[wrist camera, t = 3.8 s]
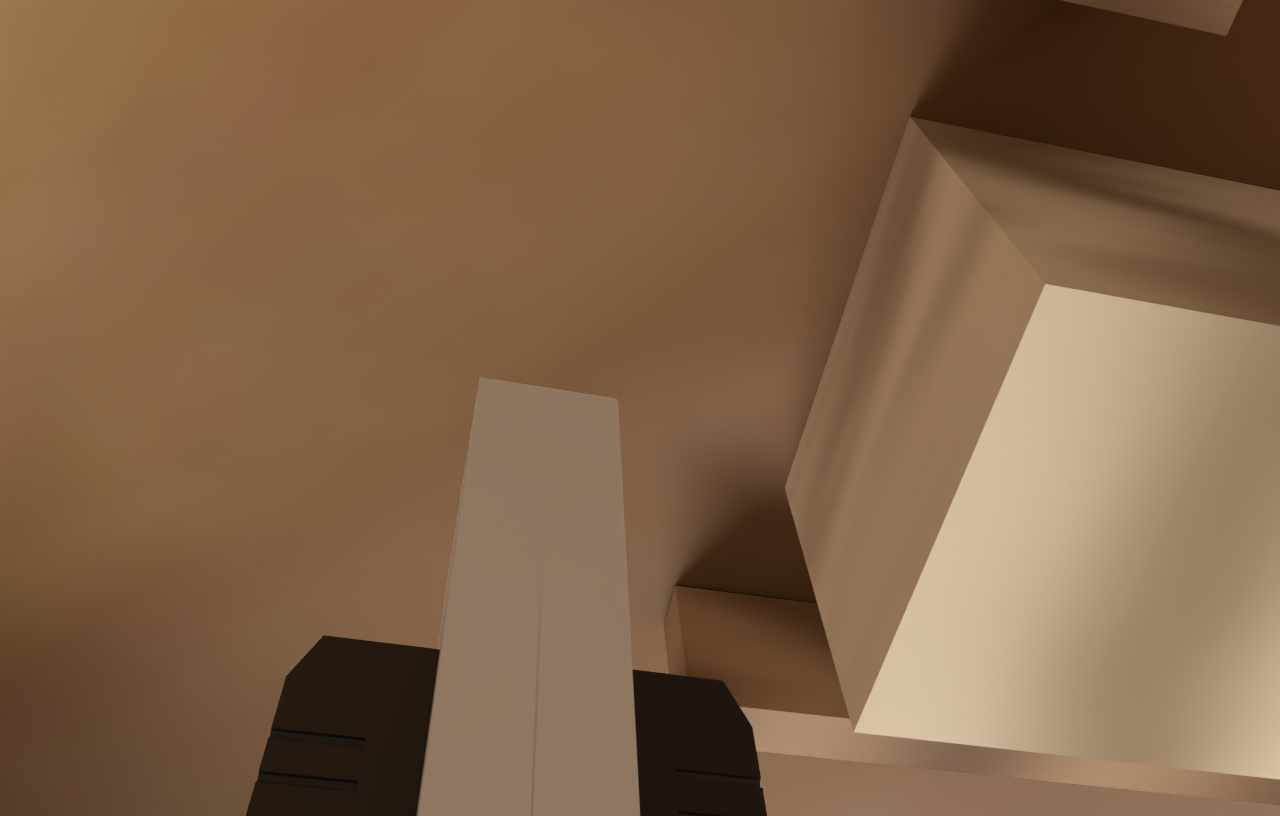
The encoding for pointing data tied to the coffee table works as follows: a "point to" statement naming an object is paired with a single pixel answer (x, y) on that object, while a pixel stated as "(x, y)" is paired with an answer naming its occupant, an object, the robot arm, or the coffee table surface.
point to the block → (1054, 459)
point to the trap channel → (803, 664)
